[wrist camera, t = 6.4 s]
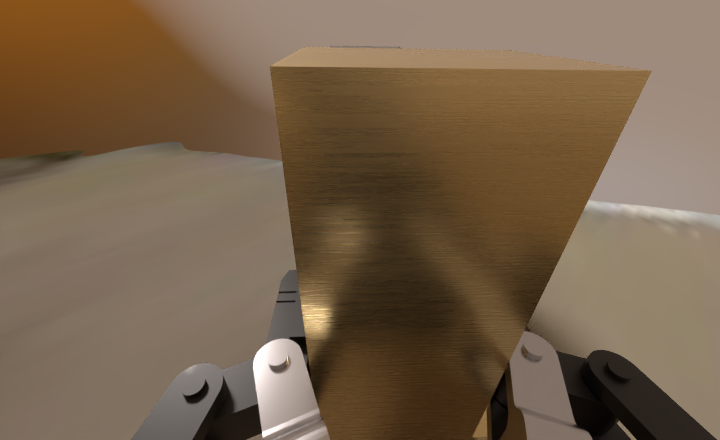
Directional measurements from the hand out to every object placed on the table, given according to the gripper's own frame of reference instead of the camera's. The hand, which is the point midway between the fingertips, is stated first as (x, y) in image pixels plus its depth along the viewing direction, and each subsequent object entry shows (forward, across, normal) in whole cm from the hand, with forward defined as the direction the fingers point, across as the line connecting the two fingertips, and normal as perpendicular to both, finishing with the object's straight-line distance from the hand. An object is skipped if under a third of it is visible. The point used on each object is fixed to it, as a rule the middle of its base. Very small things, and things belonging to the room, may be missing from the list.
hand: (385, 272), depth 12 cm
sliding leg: (-3, -2, +7) cm, 8 cm away
